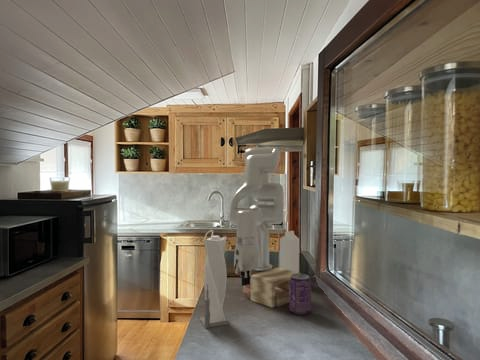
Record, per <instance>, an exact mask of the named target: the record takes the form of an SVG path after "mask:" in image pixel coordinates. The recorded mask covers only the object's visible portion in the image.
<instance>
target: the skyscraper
mask: <svg viewBox="0 0 480 360" xmlns="http://www.w3.org/2000/svg"><path fill="white" fill-rule="evenodd" d="M210 232H211V235H210V237H209V238H207V235H208V234H209V233H210ZM227 239H228V237H227V236H226V235H224V236H222V237H220V235H214V230H213V229H210V230H208V231H207V232H206V233H205V235H204V238H203V242H204V247H205V253H206V254H205V255H206V257H205V261H204V263H205V264H204V270H203V271H204V272H203V274H204V275H203V276H204V277H203V279H204V282H203V283H204V296H205V298H204V303H205V304H204V307H205V308H204V309H205V310H204V316H203V317H201V316H200V317H199V318H198V319H199V321H200V322H201V324H202V325H203V327H204V328H205V329H208V328H213V327H214V328H215V327H221V326H225V325H226V326H227V325H228V322H227V321H226V317H225V314H224V311H223V308H224V307H223V306H224V301H225V296H226V290H227V289H226V288H227V279H228V278H227V276H228V275H227V265H226V259H225V255H224V251H225V247H226V243H227Z"/></svg>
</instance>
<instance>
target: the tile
mask: <svg viewBox="0 0 480 360" xmlns="http://www.w3.org/2000/svg"><path fill="white" fill-rule="evenodd" d="M248 292H251V283H250V284H248V285H245V286H242V293H243V294H247V295H248ZM281 292H284V291H283V290H279V289H276V288H275V299H276V294H279V293H281Z"/></svg>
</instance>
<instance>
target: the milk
mask: <svg viewBox="0 0 480 360" xmlns="http://www.w3.org/2000/svg"><path fill="white" fill-rule="evenodd" d="M279 268H282V269H286V270H291V271H295V272H299V273H300V238H299V237H298V236H297V235H295V231H294V230H288V231H285V233H284V235H283V236H281V237H280V238H279Z"/></svg>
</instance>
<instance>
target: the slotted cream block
mask: <svg viewBox="0 0 480 360" xmlns="http://www.w3.org/2000/svg"><path fill="white" fill-rule="evenodd" d="M292 274H301V272H300V271H299V272H295V271H291V270H286V269H282V268H280V267H273V268H272V269H270V270H265V271H261V272H260V271H259V272H258V273H253V274H251V277H250V284H251V292H248V294H247V299H250V301H251V302H253V303H258V304H259V305H262V306H266V307H269V308H274V307H276V308H278V307H279V308H280V307H281V306H284V305H286V304H289V287H290V279H291V275H292ZM275 288H276V289H279V290H283V291H284V292H281V293H279V294H276V299H275Z"/></svg>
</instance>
